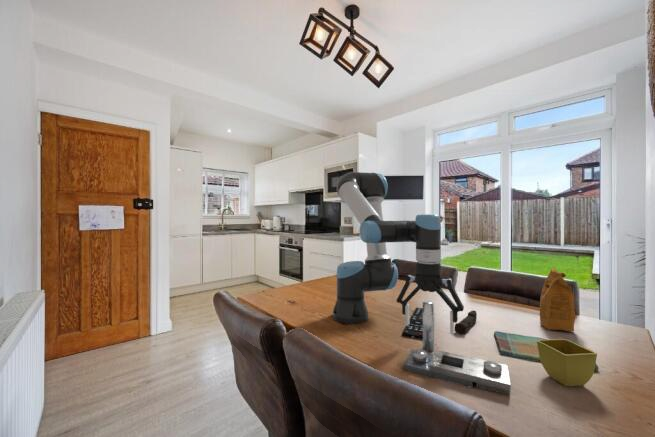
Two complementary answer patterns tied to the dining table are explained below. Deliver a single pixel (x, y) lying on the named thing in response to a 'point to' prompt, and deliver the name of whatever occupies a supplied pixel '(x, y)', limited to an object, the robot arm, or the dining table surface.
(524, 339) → the dish towel
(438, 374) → the lower chain end
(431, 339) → the steel pin
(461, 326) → the hand tool
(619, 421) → the dining table surface
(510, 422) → the dining table surface
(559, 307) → the coffee package
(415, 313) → the remote control
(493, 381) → the grey block with knob
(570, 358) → the flower pot
